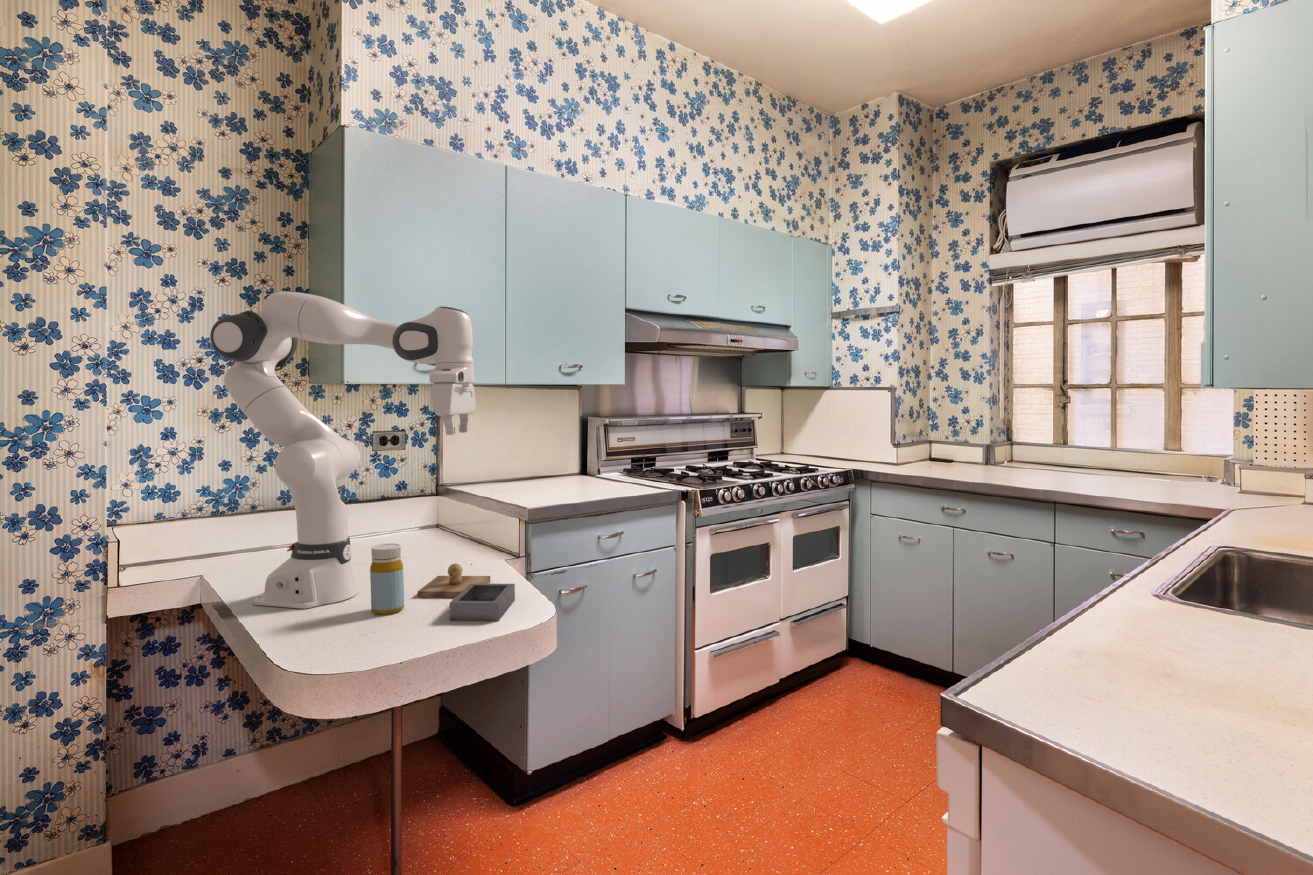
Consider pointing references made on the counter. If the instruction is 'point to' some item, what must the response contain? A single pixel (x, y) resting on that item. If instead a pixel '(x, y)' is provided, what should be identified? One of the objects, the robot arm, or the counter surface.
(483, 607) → the grey open tray
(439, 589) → the keeper
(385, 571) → the bottle
